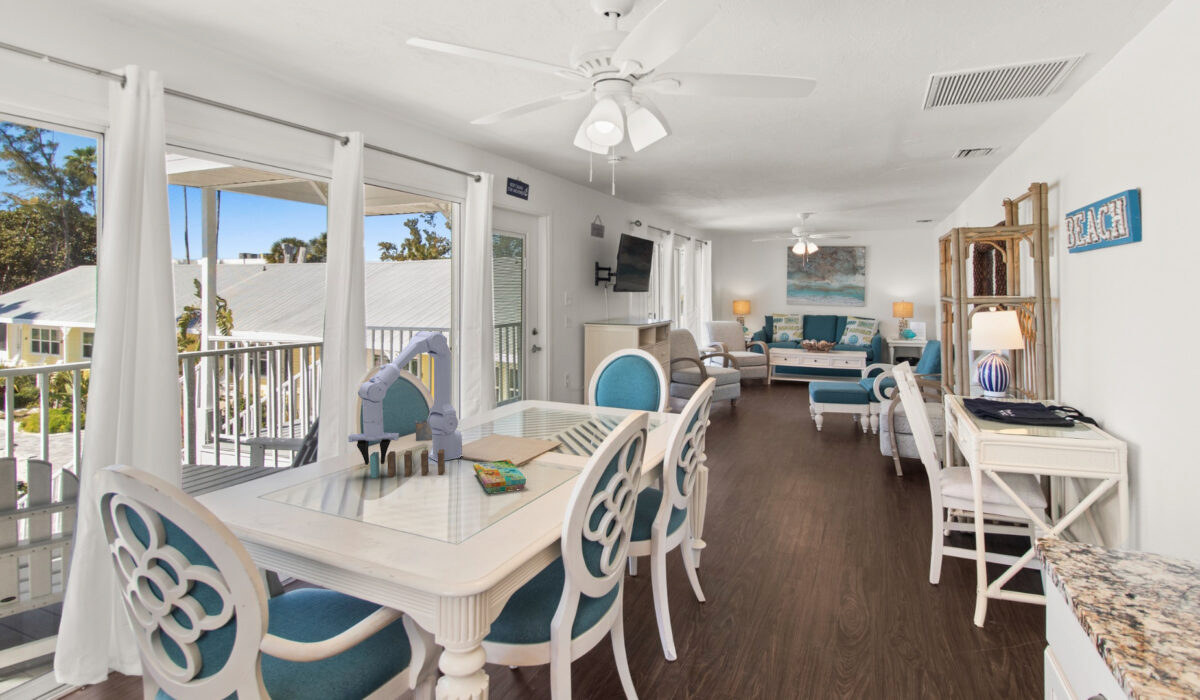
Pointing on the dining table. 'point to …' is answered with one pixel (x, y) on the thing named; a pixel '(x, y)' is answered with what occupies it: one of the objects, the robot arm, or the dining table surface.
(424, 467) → the domino
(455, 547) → the dining table surface
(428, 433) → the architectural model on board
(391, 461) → the domino
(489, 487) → the puzzle game
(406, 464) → the domino
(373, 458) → the domino
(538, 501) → the dining table surface
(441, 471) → the domino
